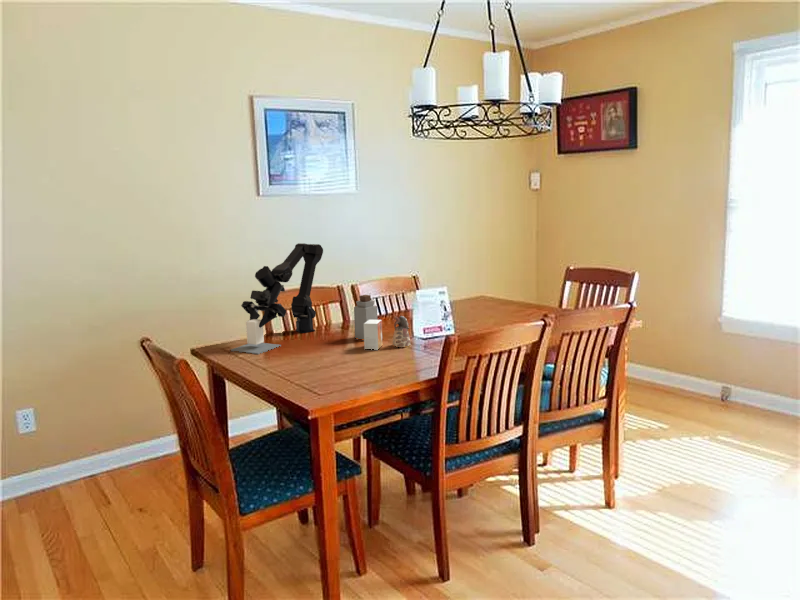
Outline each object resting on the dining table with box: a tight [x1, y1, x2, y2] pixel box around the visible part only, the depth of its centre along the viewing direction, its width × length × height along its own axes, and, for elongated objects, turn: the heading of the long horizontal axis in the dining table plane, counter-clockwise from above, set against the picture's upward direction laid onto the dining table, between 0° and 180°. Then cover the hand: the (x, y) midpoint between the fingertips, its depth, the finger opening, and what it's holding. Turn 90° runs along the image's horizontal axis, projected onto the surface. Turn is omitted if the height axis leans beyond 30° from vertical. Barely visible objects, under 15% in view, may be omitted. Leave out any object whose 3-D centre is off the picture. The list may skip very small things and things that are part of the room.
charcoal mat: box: [230, 342, 282, 355], centre depth 250 cm, size 14×14×1 cm
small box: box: [363, 319, 384, 351], centre depth 246 cm, size 8×6×10 cm
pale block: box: [245, 318, 265, 345], centre depth 249 cm, size 4×4×9 cm
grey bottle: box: [353, 294, 379, 340], centre depth 261 cm, size 7×7×18 cm
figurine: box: [392, 315, 412, 348], centre depth 248 cm, size 7×7×12 cm
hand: (254, 326), depth 249 cm, fingers closed on pale block, 4 cm apart
